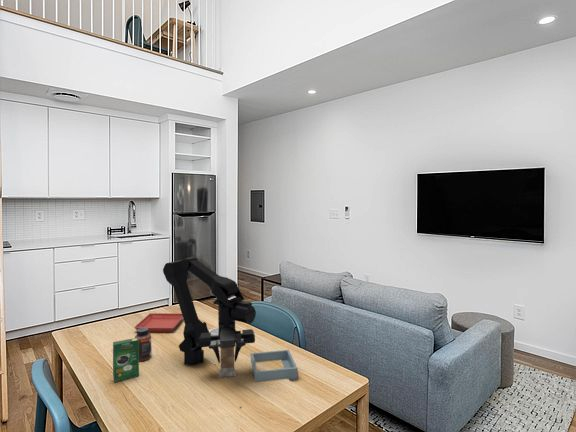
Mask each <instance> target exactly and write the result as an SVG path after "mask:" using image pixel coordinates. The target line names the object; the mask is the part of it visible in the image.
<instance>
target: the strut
mask: <svg viewBox="0 0 576 432" xmlns="http://www.w3.org/2000/svg"><path fill="white" fill-rule="evenodd" d="M219 350H220V370H221V377H226V378H229V377H228V376H234V369H235V347H233V348H231V347H228V348H221V347H220V349H219Z"/></svg>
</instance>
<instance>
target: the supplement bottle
mask: <svg viewBox="0 0 576 432" xmlns="http://www.w3.org/2000/svg"><path fill="white" fill-rule="evenodd" d="M134 338H137V339H138V340H139V362H145V361H148V360H149V359H151V358H152V356H153V355H152V351H153V350H152V335H151V332H148V328H140V329H138V330H136V335H134Z"/></svg>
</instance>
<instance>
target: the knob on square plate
mask: <svg viewBox="0 0 576 432" xmlns="http://www.w3.org/2000/svg"><path fill="white" fill-rule="evenodd" d="M236 373H237V372H236V369H235V368H234V376H228V377H221V369H219V379H224V378H225V379H227V378H235V377H236V375H237V374H236Z"/></svg>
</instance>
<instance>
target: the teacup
mask: <svg viewBox="0 0 576 432" xmlns="http://www.w3.org/2000/svg"><path fill="white" fill-rule="evenodd" d="M208 330H209V333H210V332H211V336H217V335H218V332H219V328H218V327H214V328H211V329H208ZM219 346H220V341H218V347H219Z"/></svg>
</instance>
